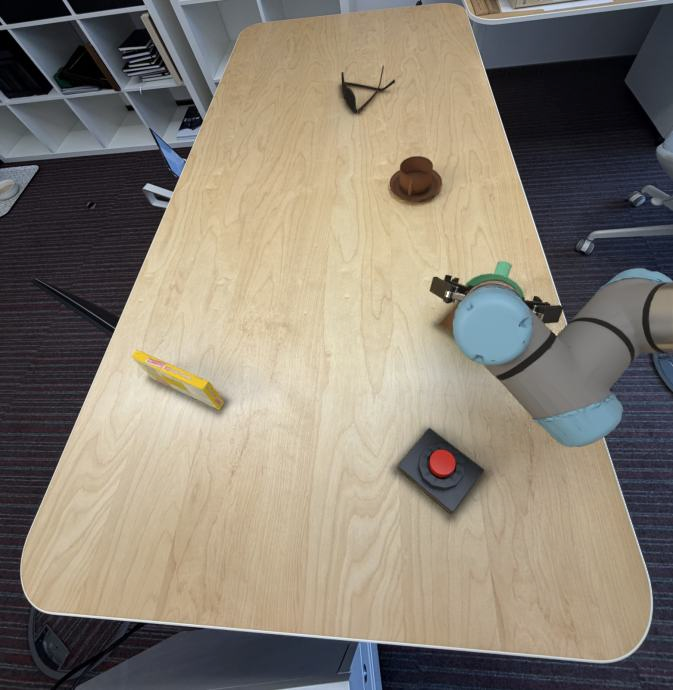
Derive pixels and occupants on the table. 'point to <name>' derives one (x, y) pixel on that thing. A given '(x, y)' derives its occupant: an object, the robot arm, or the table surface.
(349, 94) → the sunglasses
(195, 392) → the candy box
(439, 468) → the stop button
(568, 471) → the table surface
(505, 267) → the mug
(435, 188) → the cup and saucer
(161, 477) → the table surface
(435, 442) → the control block
